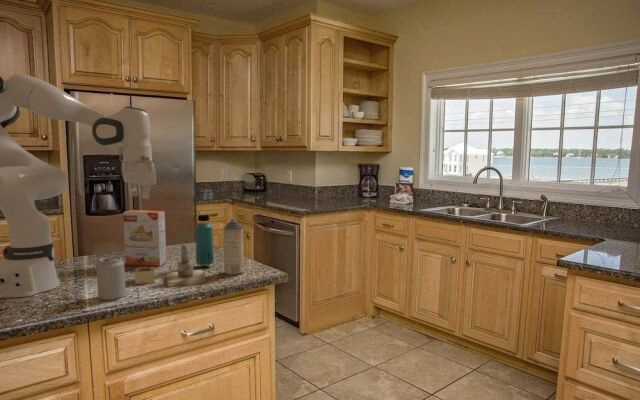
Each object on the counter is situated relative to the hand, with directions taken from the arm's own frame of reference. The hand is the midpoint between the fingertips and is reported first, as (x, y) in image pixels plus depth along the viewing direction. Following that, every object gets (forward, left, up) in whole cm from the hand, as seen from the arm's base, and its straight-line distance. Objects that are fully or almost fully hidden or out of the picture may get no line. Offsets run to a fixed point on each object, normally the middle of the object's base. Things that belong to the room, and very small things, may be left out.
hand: (140, 197), depth 148 cm
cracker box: (+1, +19, -28) cm, 34 cm away
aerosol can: (+31, -4, -28) cm, 42 cm away
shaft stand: (+14, -7, -28) cm, 32 cm away
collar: (+1, -4, -28) cm, 28 cm away
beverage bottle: (+22, +8, -28) cm, 37 cm away
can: (-8, -18, -28) cm, 35 cm away
